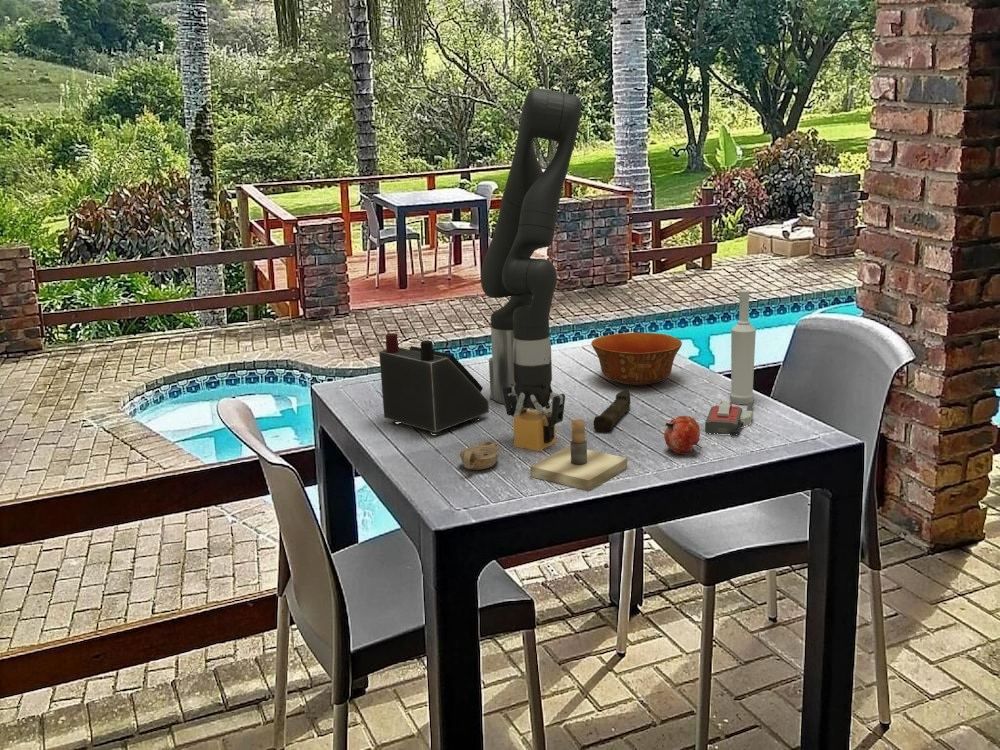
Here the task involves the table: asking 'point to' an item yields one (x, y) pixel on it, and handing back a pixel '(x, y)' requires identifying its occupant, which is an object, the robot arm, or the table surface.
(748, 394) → the bottle
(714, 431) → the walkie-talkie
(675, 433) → the pomegranate
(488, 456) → the oil lamp
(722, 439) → the table surface
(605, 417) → the hand tool
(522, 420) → the mustard yellow cube
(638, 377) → the bowl
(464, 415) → the voltmeter
